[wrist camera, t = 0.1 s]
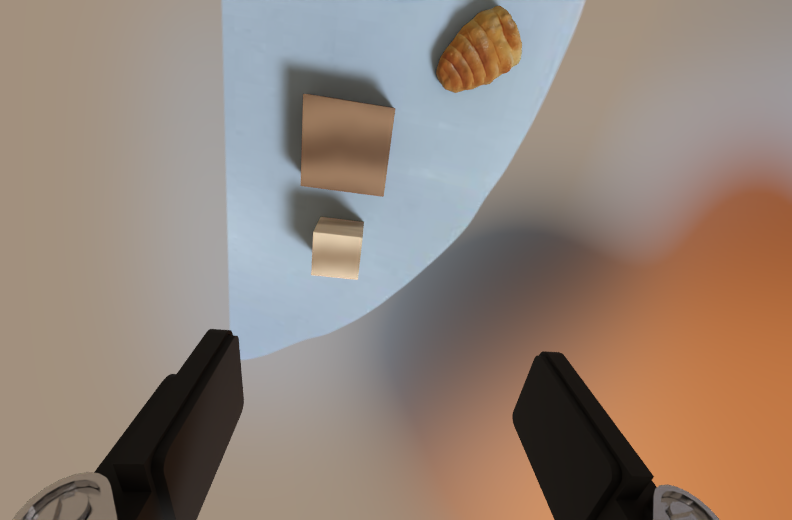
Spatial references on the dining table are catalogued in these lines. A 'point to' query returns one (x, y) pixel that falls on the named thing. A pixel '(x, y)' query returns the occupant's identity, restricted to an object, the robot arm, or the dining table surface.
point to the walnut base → (345, 145)
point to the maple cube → (337, 248)
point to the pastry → (480, 51)
